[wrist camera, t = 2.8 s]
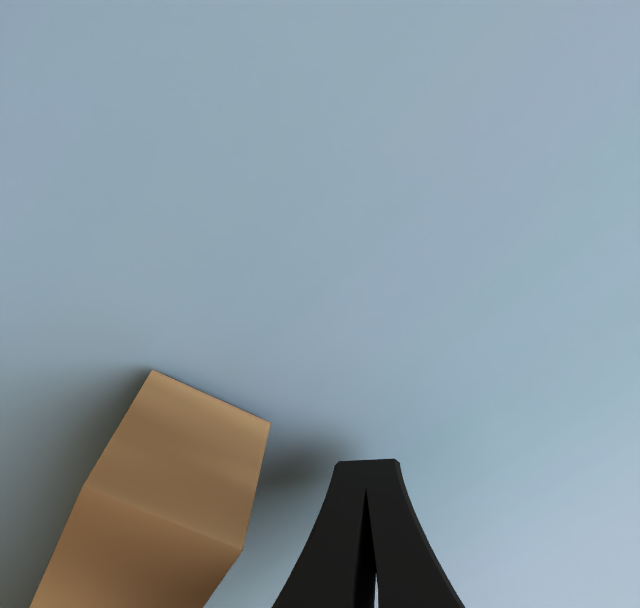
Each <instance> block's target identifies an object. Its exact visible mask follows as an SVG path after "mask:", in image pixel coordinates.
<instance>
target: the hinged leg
mask: <svg viewBox="0 0 640 608" xmlns="http://www.w3.org/2000/svg"><path fill="white" fill-rule="evenodd" d="M270 425H271V423H270V422H268V421H265V420H263V419H261V418H259V417H256V416H254V415H252V414H250V413H248V412H245V411H243V410H241V409H239V408H236V407H234V406H232V405H230V404H228V403H225V402H223V401H221V400H219V399H216V398H214V397H212V396H210V395H207V394H205V393H203V392H201V391H199V390H196V389H194V388H192V387H190V386H187V385H185V384H183V383H181V382H179V381H176V380H174V379H172V378H170V377H167V376H165V375H163V374H161V373H159V372H156V371H154V370H152V371H151V372H150V374H149V376H148V377H147V379H146V381H145V382H144V384H143V386H142V387H141V389H140V391H139V392H138V394H137V396H136V397H135V399H134V401H133V403H132V404H131V406H130V408H129V409H128V411H127V413H126V414H125V416H124V418H123V419H122V421H121V423H120V424H119V426H118V428H117V429H116V431H115V433H114V434H113V436H112V438H111V439H110V441H109V443H108V444H107V446H106V448H105V449H104V451H103V453H102V454H101V456H100V458H99V459H98V461H97V463H96V464H95V466H94V468H93V469H92V471H91V473H90V475H89V476H88V478H87V480H86V481H85V483H84V485H83V486H82V489H81V491H80V493H79V495H78V498H77V500H76V502H75V505H74V507H73V509H72V511H71V514H70V516H69V518H68V521H67V523H66V525H65V527H64V530H63V532H62V534H61V537H60V539H59V541H58V543H57V546H56V548H55V550H54V553H53V555H52V557H51V559H50V562H49V564H48V566H47V569H46V571H45V573H44V575H43V578H42V580H41V582H40V585H39V587H38V589H37V591H36V594H35V596H34V598H33V601H32V603H31V605H30V607H29V608H203V606H204V605H205V604H206V602H207V601H208V599H209V598H210V596H211V595H212V594H213V592H214V591H215V589H216V588H217V586H218V585H219V584H220V582H221V581H222V579H223V578H224V576H225V575H226V573H227V572H228V571H229V569H230V568H231V566H232V565H233V563H234V562H235V561H236V559H237V558H238V556H239V555H240V553H241V552H242V551H243V546H244V542H245V537H246V533H247V528H248V524H249V519H250V515H251V510H252V506H253V501H254V497H255V492H256V488H257V483H258V479H259V474H260V470H261V465H262V461H263V456H264V452H265V447H266V443H267V438H268V434H269V429H270Z"/></svg>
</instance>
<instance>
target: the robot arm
mask: <svg viewBox="0 0 640 608" xmlns="http://www.w3.org/2000/svg"><path fill="white" fill-rule="evenodd" d="M376 576H377V584H378V608H465V606H464V605H463V603H462V602H461V600H460V598H459V597H458V595H457V593H456V592H455V590H454V588H453V587H452V585H451V583H450V581H449V580H448V578H447V576H446V574H445V572H444V571H443V569H442V567H441V565H440V563H439V561H438V560H437V558H436V556H435V554H434V552H433V550H432V548H431V546H430V544H429V542H428V540H427V538H426V535H425V533H424V531H423V529H422V527H421V525H420V523H419V521H418V518H417V516H416V514H415V511H414V509H413V506H412V504H411V501H410V498H409V496H408V493H407V490H406V487H405V484H404V481H403V477H402V473H401V468H400V463H399V462H398V461H397V460H395V459H378V460H357V461H339V462H338V463H337V464H336V465H335V467H334V471H333V475H332V479H331V482H330V485H329V488H328V491H327V494H326V497H325V500H324V502H323V505H322V507H321V510H320V513H319V515H318V517H317V520H316V522H315V524H314V527H313V529H312V531H311V533H310V536H309V538H308V540H307V542H306V545H305V547H304V549H303V551H302V553H301V555H300V557H299V559H298V560H297V562H296V564H295V566H294V568H293V570H292V572H291V574H290V576H289V578H288V580H287V582H286V584H285V585H284V587H283V589H282V591H281V592H280V594H279V596H278V598H277V599H276V601H275V603H274V604H273V606H272V608H374V601H375V582H376Z"/></svg>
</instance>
